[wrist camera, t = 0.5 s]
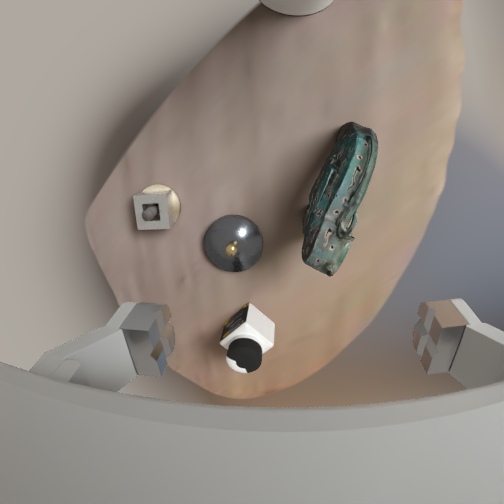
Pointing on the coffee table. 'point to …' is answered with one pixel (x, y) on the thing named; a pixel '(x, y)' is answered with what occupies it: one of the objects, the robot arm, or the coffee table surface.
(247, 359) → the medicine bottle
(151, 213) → the stand
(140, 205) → the square tunnel block
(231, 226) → the hub
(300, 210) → the coffee table surface
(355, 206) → the bull figurine
